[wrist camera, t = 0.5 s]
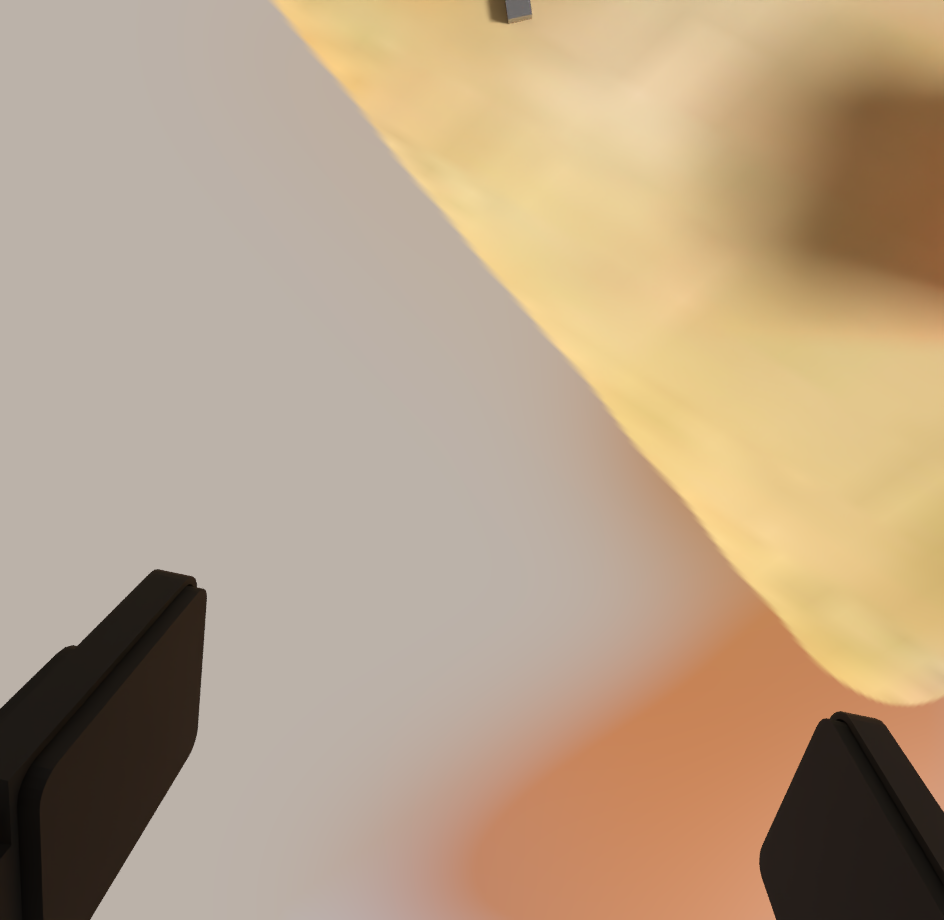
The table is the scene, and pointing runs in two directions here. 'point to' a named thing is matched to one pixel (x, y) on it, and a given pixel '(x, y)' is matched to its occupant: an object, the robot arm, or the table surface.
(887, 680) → the table surface
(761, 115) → the table surface
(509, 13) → the track
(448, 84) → the table surface
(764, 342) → the table surface
